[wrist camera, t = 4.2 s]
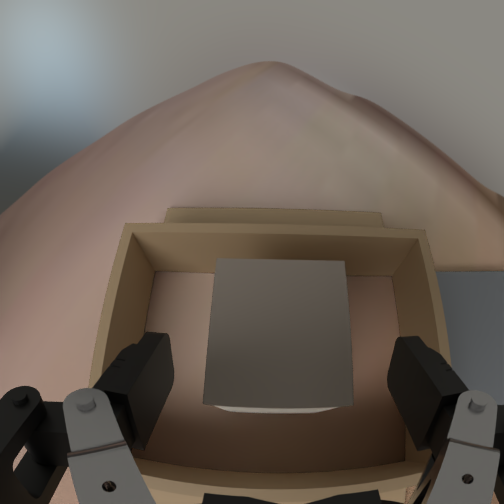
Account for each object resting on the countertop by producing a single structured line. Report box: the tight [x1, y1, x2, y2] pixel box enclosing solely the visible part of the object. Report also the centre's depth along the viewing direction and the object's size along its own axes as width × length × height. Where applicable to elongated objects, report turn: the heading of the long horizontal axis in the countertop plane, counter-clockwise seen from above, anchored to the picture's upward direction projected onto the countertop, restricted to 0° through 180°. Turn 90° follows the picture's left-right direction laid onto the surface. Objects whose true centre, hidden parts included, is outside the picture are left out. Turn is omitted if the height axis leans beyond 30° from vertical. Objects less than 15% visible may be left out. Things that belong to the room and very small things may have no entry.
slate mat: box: [436, 271, 504, 405], centre depth 16 cm, size 9×12×1 cm
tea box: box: [203, 258, 354, 414], centre depth 13 cm, size 5×5×8 cm
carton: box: [88, 208, 451, 504], centre depth 15 cm, size 17×22×4 cm
